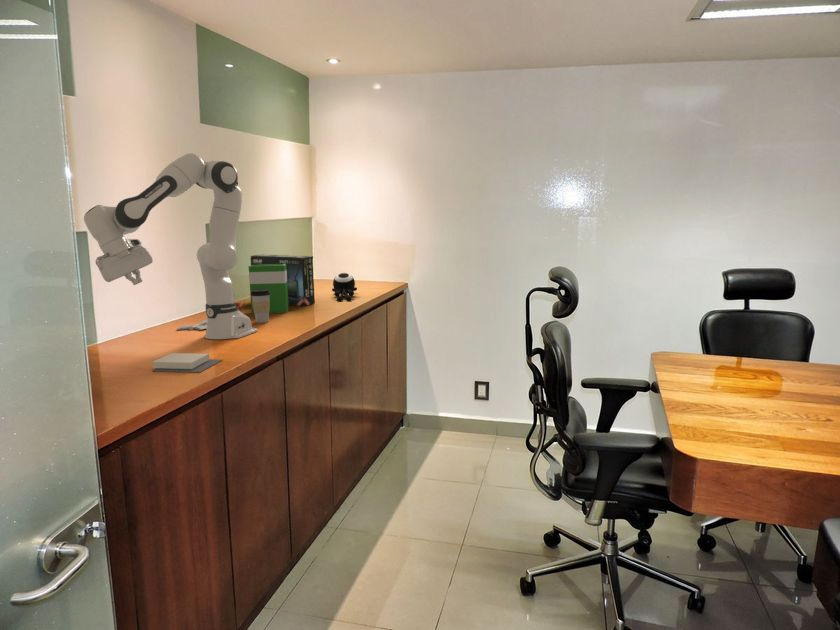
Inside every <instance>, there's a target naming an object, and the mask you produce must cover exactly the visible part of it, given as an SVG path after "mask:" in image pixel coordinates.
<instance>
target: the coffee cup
mask: <svg viewBox="0 0 840 630" xmlns="http://www.w3.org/2000/svg"><path fill="white" fill-rule="evenodd" d="M270 294H271V292H269V290H268V289H257V290H252V293H249V295H250V297H251V296H252V304H253V309H254V313H253V314H254V317H255V323H257V324H264V323H269V320H270V313H269V307H270V300H269V298H270Z"/></svg>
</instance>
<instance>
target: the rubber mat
mask: <svg viewBox="0 0 840 630" xmlns="http://www.w3.org/2000/svg"><path fill="white" fill-rule="evenodd" d="M221 362H223V359H215V358H214V359H213V358H211V359H210V358H209V360H208V361H207V362H205V363H203V364H201V365H199V366H197V367H195V368H193V369H156V368H154V369H153V370H152V372H158V373H159V372H161V373H162V372H163V373H187V374H188V373H189V374H190V373H192V374H193V373H194V374H200V373H203V372H204V371H206V370H208V369H210V368H212V367H213V366H215V365H217V364H218V363H221Z"/></svg>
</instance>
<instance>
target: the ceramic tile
mask: <svg viewBox="0 0 840 630" xmlns="http://www.w3.org/2000/svg"><path fill="white" fill-rule="evenodd" d="M209 359H210V353H194V352H193V353H186V352H182V353H181V352H171V353H170V354H169V353H168V354H167V355H164V356H163V357H160V358H158V359H156V360H153V361H152V369H193V368H195V367H197V366H199V365H201V364H203V363H205V362H207V361H208V360H209Z"/></svg>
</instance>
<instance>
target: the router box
mask: <svg viewBox="0 0 840 630" xmlns="http://www.w3.org/2000/svg"><path fill="white" fill-rule="evenodd" d="M313 259H314V255H293V254H292V255H290V254H287V255H286V254H266V253H264V254H254V255H250V266H251V265H264V264H286V270H287V287H288V305H289V306H295V307H296V306H297V307H307V306H310V305H312V304H315V303H316V299H315V281H314V261H313Z"/></svg>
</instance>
